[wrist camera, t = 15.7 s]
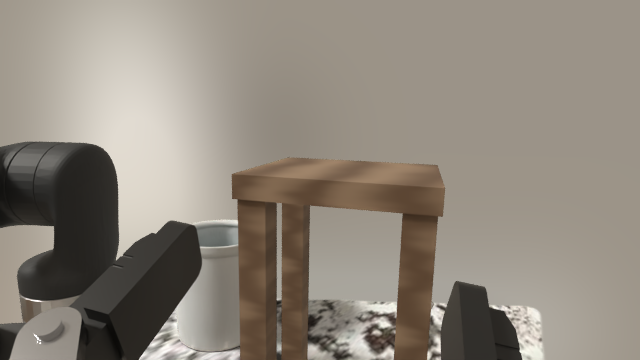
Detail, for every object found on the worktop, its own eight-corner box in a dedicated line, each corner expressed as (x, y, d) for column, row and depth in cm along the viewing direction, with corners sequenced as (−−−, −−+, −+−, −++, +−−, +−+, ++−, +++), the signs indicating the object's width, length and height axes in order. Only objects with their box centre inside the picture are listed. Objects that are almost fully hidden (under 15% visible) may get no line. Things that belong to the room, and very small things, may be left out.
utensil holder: (272, 309, 71) (272, 220, 68) (251, 358, 56) (250, 249, 53) (198, 304, 72) (194, 217, 69) (158, 351, 58) (152, 244, 55)
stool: (238, 512, 35) (231, 174, 29) (286, 408, 47) (288, 157, 42) (414, 568, 31) (445, 188, 25) (416, 438, 43) (437, 165, 38)
